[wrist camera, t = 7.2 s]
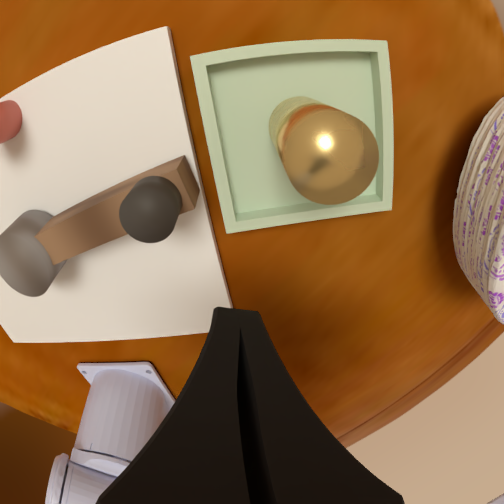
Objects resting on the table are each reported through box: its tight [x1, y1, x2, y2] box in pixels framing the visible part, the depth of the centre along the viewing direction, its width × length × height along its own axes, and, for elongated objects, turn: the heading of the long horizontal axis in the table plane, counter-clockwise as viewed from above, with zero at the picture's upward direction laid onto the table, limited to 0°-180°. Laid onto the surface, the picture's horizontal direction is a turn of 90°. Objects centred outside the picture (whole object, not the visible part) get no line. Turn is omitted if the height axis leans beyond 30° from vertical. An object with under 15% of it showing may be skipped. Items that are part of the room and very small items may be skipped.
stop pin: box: [268, 96, 379, 205], centre depth 12 cm, size 3×3×6 cm
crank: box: [0, 155, 200, 297], centre depth 14 cm, size 13×4×4 cm, turn 109°
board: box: [0, 26, 233, 343], centre depth 17 cm, size 19×22×1 cm
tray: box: [190, 39, 394, 234], centre depth 15 cm, size 9×9×2 cm
